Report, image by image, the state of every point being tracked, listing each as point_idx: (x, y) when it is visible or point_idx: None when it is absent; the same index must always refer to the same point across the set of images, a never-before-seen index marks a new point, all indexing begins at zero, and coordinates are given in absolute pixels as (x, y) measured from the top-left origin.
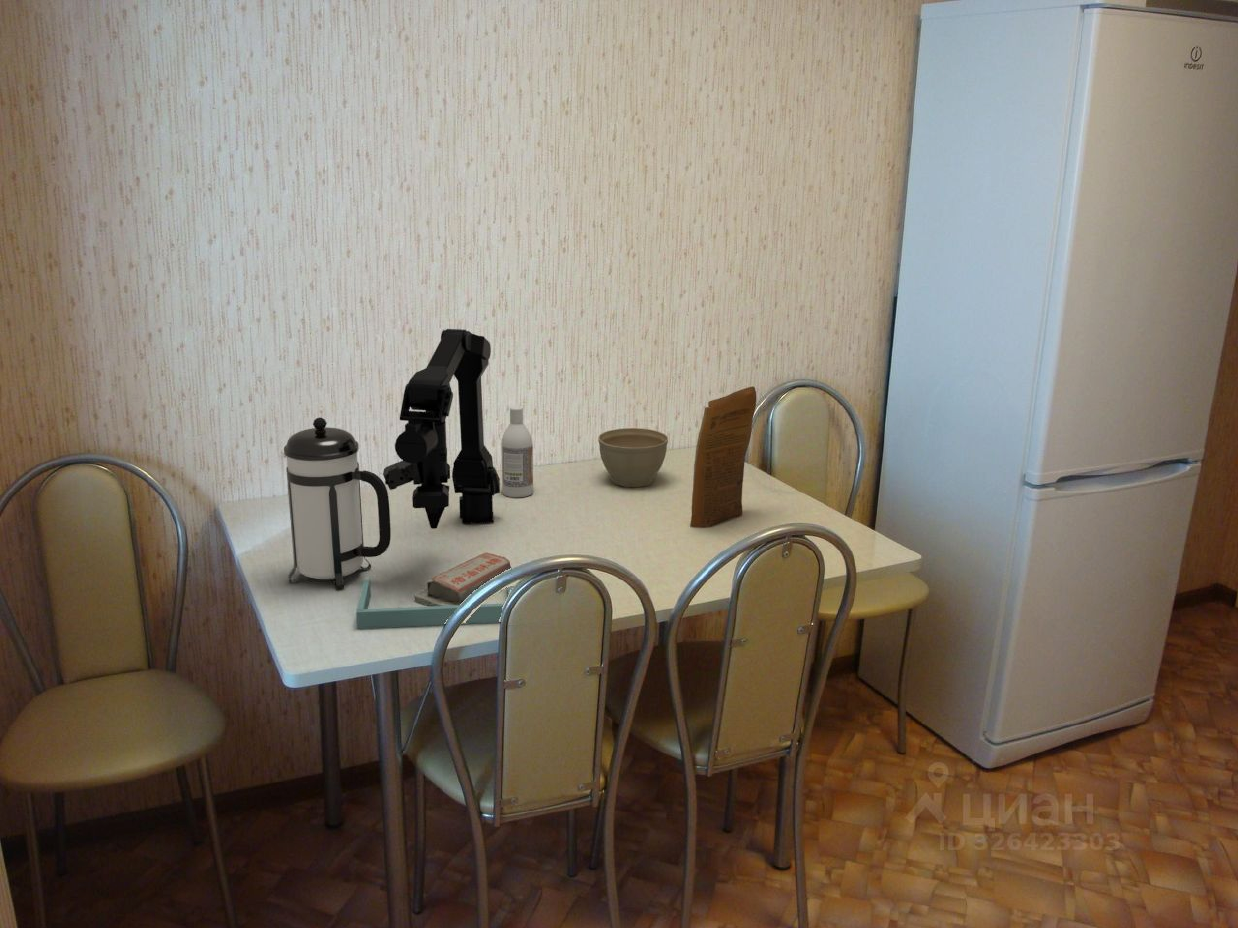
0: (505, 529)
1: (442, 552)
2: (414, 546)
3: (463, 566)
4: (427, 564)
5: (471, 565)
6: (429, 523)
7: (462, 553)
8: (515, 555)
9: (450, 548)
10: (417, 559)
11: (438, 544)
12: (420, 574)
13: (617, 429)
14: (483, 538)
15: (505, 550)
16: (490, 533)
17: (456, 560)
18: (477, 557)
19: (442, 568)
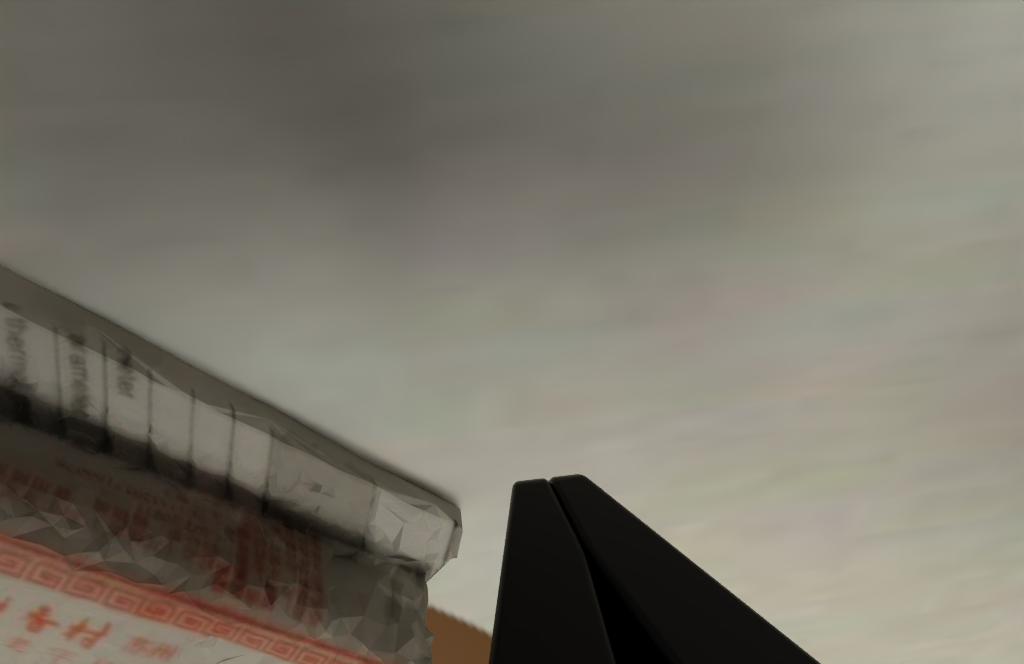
0: (1004, 552)
1: (807, 257)
2: (1010, 22)
3: (32, 615)
4: (600, 160)
5: (78, 659)
6: (509, 539)
7: (746, 387)
8: None
9: (859, 305)
10: (727, 64)
11: (964, 216)
12: (380, 111)
13: None
14: (935, 471)
15: None
16: (988, 495)
17: (634, 364)
18: (286, 661)
19: (497, 284)
